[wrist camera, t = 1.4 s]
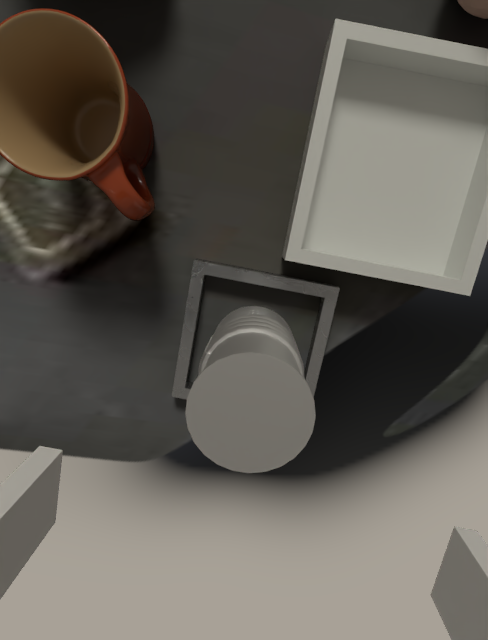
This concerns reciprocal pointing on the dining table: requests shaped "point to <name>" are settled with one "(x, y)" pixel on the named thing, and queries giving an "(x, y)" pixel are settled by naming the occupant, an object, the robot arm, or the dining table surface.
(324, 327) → the grey square frame
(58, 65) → the mug
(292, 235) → the bin
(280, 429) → the grey tall round piece
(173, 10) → the dining table surface
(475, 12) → the egg
